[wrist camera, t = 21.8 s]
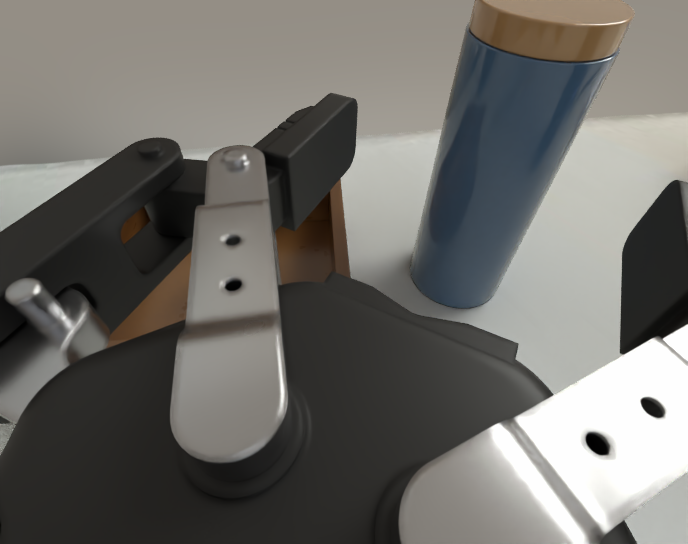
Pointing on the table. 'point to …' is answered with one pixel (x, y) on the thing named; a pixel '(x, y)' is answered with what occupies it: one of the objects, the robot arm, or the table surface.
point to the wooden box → (293, 253)
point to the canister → (508, 134)
